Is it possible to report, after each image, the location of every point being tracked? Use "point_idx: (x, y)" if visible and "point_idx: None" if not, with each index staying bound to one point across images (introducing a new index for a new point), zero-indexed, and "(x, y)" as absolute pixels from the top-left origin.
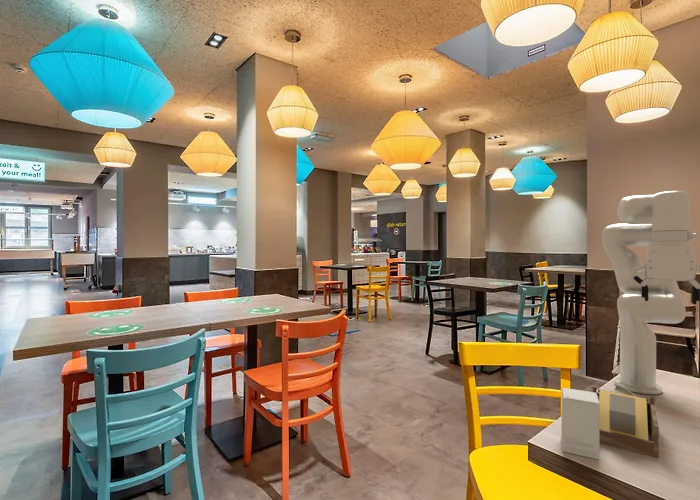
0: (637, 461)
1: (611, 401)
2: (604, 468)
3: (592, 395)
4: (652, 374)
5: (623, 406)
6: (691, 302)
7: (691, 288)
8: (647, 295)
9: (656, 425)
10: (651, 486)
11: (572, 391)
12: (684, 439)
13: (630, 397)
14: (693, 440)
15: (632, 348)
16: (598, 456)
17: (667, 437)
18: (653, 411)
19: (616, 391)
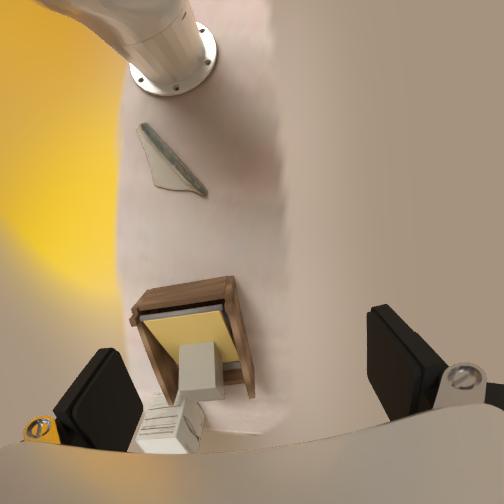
0: (236, 393)
1: (187, 396)
2: (214, 424)
3: (177, 449)
4: (194, 52)
5: (205, 396)
6: (367, 334)
7: (414, 385)
8: (131, 434)
9: (251, 396)
10: (257, 426)
11: (153, 449)
12: (276, 285)
13: (194, 317)
14: (287, 278)
15: (132, 52)
16: (204, 416)
17: (255, 296)
18: (238, 347)
19: (144, 137)
